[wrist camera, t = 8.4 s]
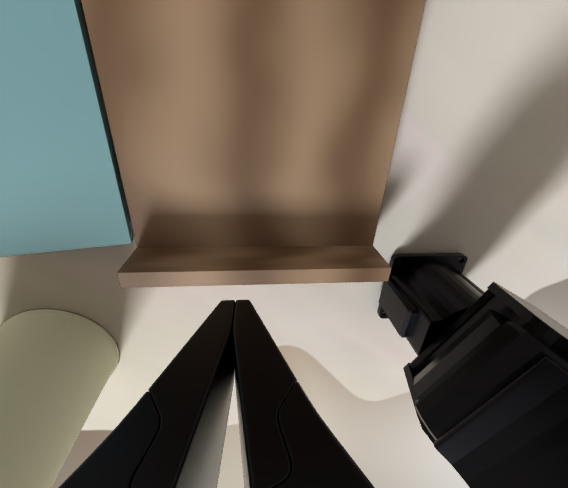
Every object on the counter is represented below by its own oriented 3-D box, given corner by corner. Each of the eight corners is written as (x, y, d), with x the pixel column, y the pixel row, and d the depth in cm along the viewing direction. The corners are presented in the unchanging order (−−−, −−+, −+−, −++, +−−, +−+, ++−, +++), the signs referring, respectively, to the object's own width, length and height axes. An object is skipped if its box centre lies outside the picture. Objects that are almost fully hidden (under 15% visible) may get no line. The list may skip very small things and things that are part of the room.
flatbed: (434, -138, 13) (532, -267, 8) (360, 245, 22) (388, 281, 17) (60, -197, 11) (-71, -402, 6) (150, 246, 20) (121, 287, 16)
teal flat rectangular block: (28, -193, 10) (-351, -314, 7) (131, 243, 18) (-31, 260, 15) (45, -158, 11) (-268, -249, 8) (134, 233, 19) (-15, 246, 16)
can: (46, 394, 26) (-98, 598, 15) (-30, 325, 22) (-305, 542, 11) (138, 370, 26) (58, 559, 15) (80, 295, 21) (-90, 486, 11)
